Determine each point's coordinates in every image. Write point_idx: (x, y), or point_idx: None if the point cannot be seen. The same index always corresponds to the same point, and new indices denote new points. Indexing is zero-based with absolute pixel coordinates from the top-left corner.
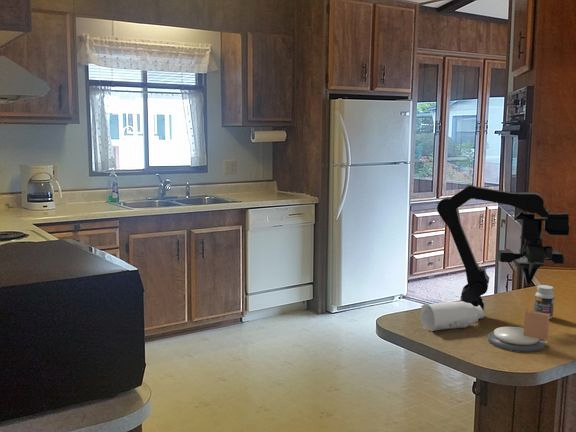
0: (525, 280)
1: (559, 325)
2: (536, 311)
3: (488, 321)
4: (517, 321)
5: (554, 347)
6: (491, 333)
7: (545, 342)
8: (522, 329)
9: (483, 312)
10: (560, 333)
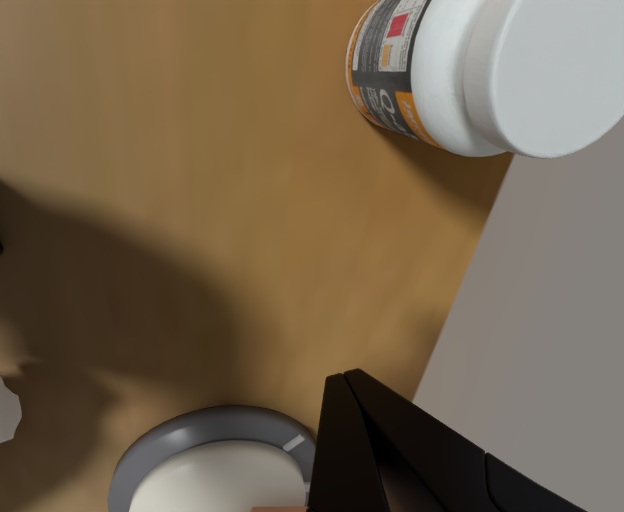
0: (322, 407)
1: (440, 215)
2: (365, 105)
3: (55, 274)
4: (230, 216)
5: None
6: (117, 488)
7: None
8: (245, 472)
9: (7, 438)
10: (405, 327)
